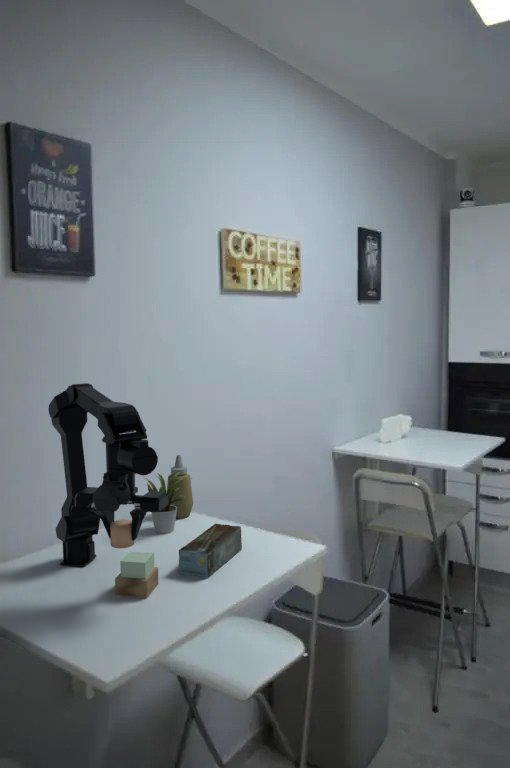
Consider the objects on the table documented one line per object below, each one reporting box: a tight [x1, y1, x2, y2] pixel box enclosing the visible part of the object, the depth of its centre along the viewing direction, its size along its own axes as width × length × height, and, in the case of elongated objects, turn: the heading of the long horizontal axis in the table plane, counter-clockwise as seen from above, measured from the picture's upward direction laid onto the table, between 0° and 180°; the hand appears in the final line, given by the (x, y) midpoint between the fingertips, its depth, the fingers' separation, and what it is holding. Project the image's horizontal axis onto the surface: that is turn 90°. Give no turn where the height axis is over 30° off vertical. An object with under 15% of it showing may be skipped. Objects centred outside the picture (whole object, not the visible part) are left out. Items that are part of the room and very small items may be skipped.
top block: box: [119, 550, 155, 579], centre depth 132 cm, size 6×6×4 cm
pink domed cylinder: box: [110, 519, 135, 549], centre depth 129 cm, size 5×5×4 cm
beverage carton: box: [178, 523, 243, 579], centre depth 147 cm, size 8×19×7 cm, turn 157°
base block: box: [114, 566, 160, 599], centre depth 132 cm, size 7×7×4 cm
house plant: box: [143, 472, 194, 535], centre depth 168 cm, size 14×14×16 cm
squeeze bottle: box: [166, 454, 194, 519], centre depth 180 cm, size 8×8×18 cm
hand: (122, 539), depth 129 cm, fingers closed on pink domed cylinder, 5 cm apart
